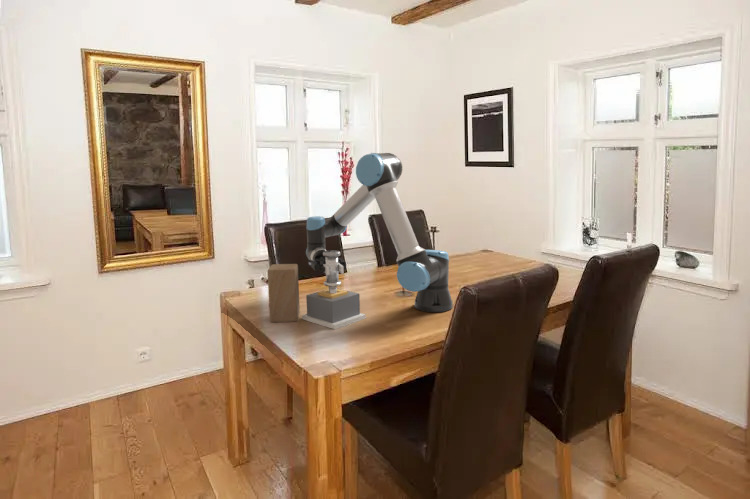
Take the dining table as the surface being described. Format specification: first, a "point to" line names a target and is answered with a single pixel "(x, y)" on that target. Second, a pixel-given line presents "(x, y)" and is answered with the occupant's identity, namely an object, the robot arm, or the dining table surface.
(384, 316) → the dining table surface
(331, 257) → the steel pin
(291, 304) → the wooden block
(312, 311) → the pin housing
